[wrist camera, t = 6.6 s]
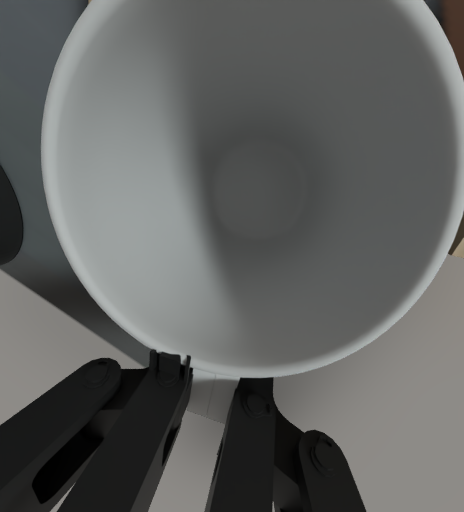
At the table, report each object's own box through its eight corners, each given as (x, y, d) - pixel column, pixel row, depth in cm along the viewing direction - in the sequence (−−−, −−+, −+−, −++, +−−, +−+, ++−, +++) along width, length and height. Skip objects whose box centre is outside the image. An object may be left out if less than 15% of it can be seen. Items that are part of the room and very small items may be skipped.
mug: (266, 282, 16) (252, 428, 7) (169, 205, 15) (2, 245, 6) (413, 129, 11) (1052, -110, 2) (282, 15, 11) (314, -987, 2)
